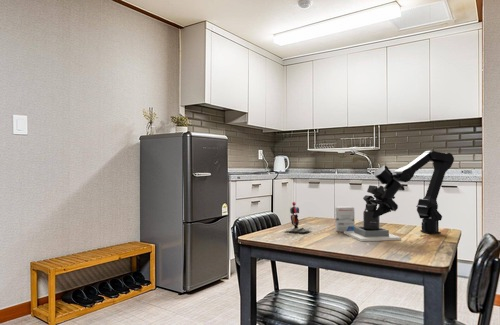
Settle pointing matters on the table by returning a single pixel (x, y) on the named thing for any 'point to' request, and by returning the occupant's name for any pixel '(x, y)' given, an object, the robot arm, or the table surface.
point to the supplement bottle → (370, 218)
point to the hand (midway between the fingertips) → (368, 216)
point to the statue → (296, 221)
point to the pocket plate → (371, 234)
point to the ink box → (344, 219)
